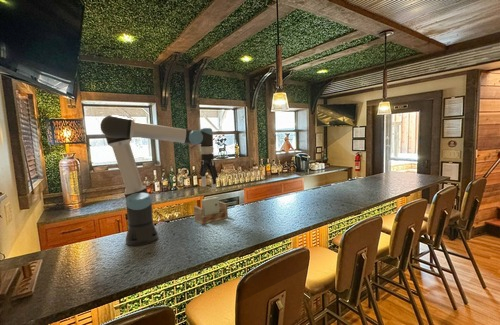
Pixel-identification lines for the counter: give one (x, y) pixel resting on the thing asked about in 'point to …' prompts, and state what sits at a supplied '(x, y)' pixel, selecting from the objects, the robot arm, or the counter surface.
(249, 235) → the counter surface
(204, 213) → the door panel
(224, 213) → the track
